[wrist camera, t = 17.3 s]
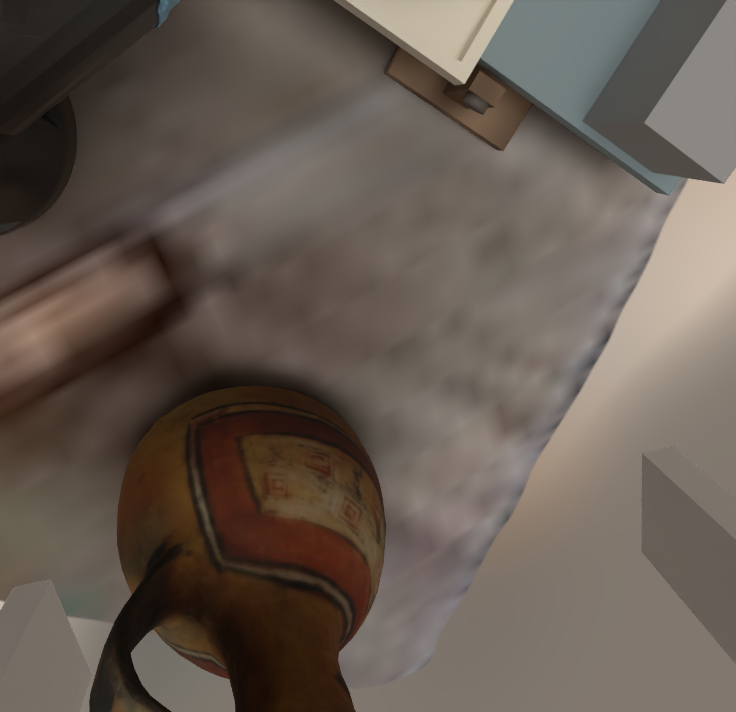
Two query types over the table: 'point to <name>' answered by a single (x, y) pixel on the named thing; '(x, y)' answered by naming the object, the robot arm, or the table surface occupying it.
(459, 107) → the pivot stand
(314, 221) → the table surface
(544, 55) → the balance beam
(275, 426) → the ceramic pitcher
